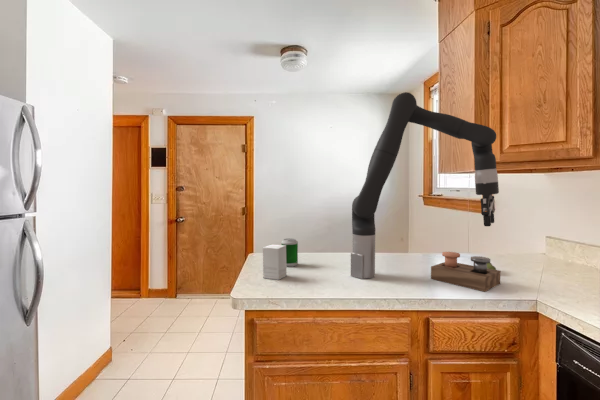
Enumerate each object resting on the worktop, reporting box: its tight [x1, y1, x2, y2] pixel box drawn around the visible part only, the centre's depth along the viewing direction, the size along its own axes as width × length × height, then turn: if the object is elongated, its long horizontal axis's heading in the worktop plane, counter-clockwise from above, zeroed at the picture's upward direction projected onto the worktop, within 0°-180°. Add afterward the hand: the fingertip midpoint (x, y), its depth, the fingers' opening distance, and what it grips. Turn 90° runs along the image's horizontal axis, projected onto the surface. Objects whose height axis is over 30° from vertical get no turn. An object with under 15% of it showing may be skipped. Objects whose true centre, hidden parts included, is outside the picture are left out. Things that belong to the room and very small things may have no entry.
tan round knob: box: [441, 251, 461, 268], centre depth 130 cm, size 6×6×6 cm
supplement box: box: [262, 243, 288, 281], centre depth 132 cm, size 7×7×13 cm
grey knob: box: [470, 256, 491, 274], centre depth 121 cm, size 6×6×6 cm
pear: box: [487, 262, 497, 270], centre depth 138 cm, size 6×5×10 cm
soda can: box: [280, 238, 299, 268], centre depth 151 cm, size 8×8×12 cm
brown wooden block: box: [430, 261, 502, 293], centre depth 126 cm, size 14×20×5 cm
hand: (489, 224), depth 122 cm, fingers open, 8 cm apart
